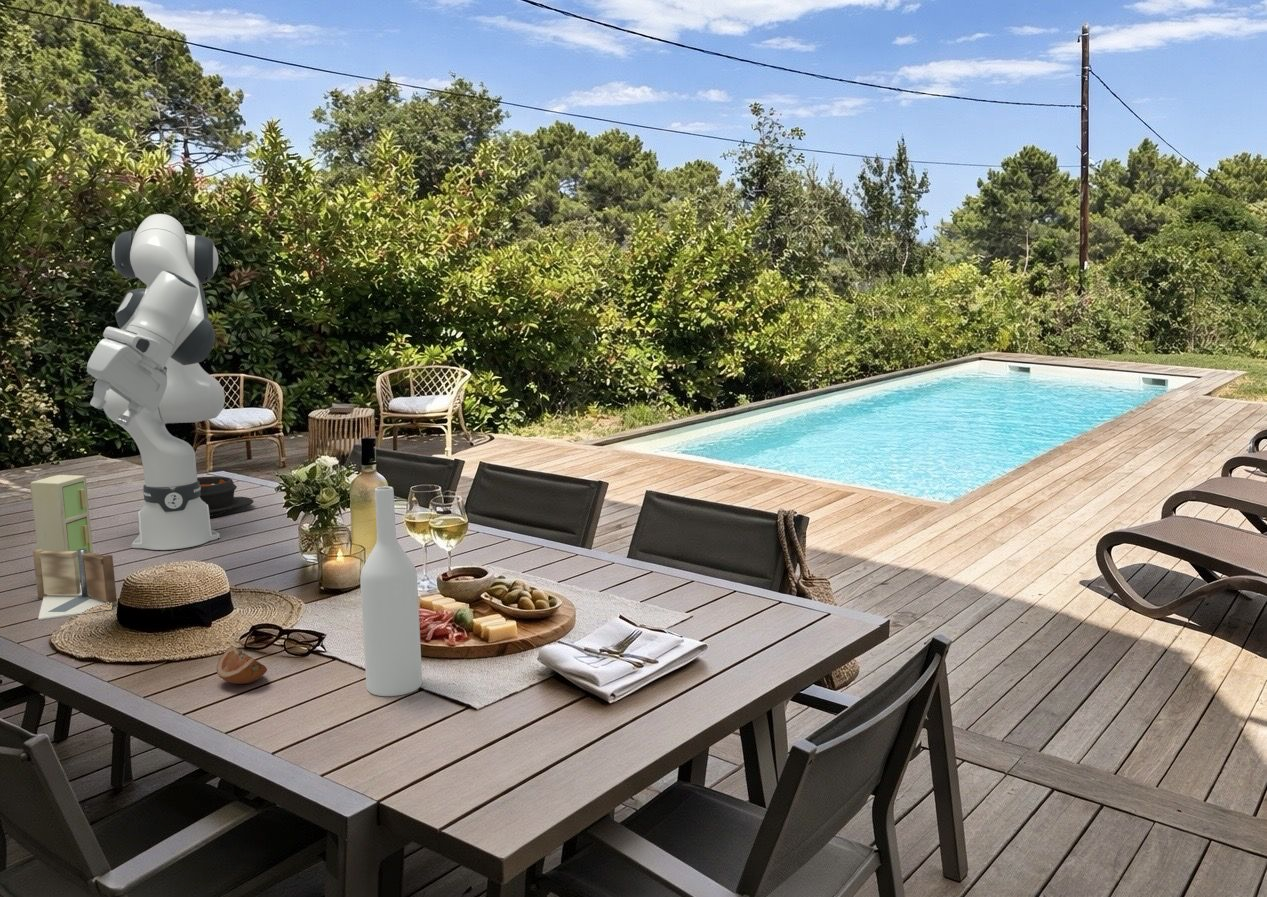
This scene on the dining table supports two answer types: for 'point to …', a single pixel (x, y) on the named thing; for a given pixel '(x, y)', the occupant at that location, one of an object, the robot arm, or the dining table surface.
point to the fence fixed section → (60, 572)
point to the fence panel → (100, 576)
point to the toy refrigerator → (61, 513)
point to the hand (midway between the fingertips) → (108, 416)
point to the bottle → (390, 609)
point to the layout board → (66, 605)
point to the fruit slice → (239, 667)
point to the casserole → (220, 494)
